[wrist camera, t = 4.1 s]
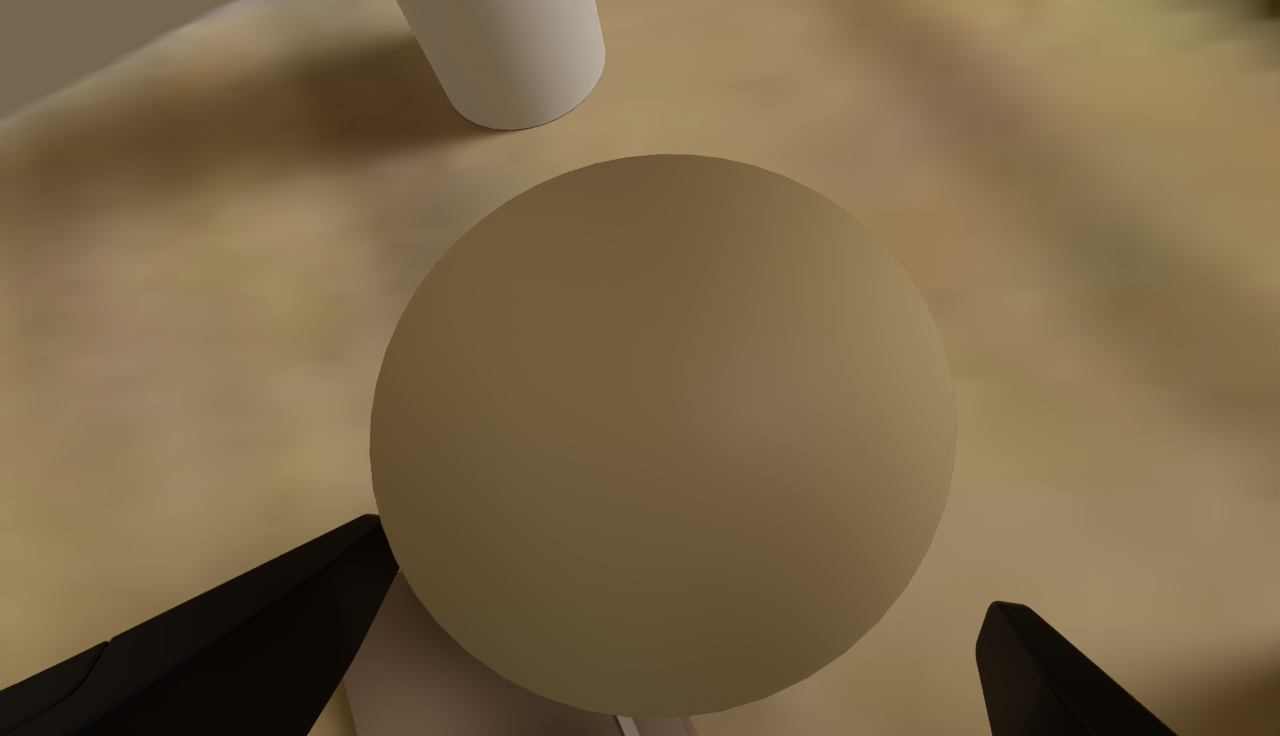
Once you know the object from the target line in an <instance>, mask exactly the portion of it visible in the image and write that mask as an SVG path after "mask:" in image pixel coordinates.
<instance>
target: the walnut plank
mask: <svg viewBox="0 0 1280 736" xmlns="http://www.w3.org/2000/svg"><path fill="white" fill-rule="evenodd" d="M343 681H344V685H345V689H346V693H347V697H348V701H349V704H350V708H351V712H352V716H353V720H354V724H355V728H356V732H357V736H697V734H696V732H695V730H694V727H693V725H692V723H691V721H690V719H689V717H688V716H684V717H677V718H640V717H623V716H617V715H611V714H605V713H599V712H592V711H586V710H582V709H579V708H576V707H573V706H570V705H566V704H563V703H560V702H557V701H554V700H551V699H548V698H545V697H542V696H540V695H538V694H536V693H534V692H532V691H530V690H528V689H526V688H524V687H522V686H520V685H518V684H516V683H514V682H512V681H510V680H508V679H506V678H504V677H502V676H501V675H499V674H498V673H496V672H495V671H493V670H492V669H491V668H489V667H488V666H486V665H485V664H484V663H482V662H481V661H479V660H478V659H476V658H475V657H474V656H472V655H471V654H469V653H468V652H467V651H466V650H465V649H464V648H463V647H462V646H461V645H460V644H459V643H458V642H457V641H456V640H454V639H453V638H452V637H451V636H450V635H449V634H448V633H447V632H446V631H445V630H444V629H443V628H442V627H441V626H440V625H439V624H438V623H437V622H436V620H435V619H434V618H433V616H432V615H431V614H430V613H429V611H428V610H427V609H426V607H425V606H424V605H423V603H422V602H421V601H420V600H419V598H418V597H417V596H416V594H415V593H414V591H413V590H412V588H411V586H410V584H409V583H408V581H407V579H406V577H405V576H404V574H403V572H400V573H398V574H396V576H395V578H394V580H393V582H392V585H391V587H390V589H389V591H388V593H387V595H386V597H385V599H384V601H383V603H382V605H381V607H380V609H379V611H378V613H377V615H376V617H375V619H374V621H373V623H372V625H371V627H370V629H369V631H368V633H367V635H366V637H365V639H364V641H363V643H362V645H361V647H360V649H359V651H358V653H357V654H356V656H355V658H354V660H353V662H352V663H351V665H350V667H349V668H348V670H347V672H346V673H345V675H344V677H343Z"/></svg>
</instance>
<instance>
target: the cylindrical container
mask: <svg viewBox="0 0 1280 736" xmlns="http://www.w3.org/2000/svg"><path fill="white" fill-rule="evenodd" d="M396 1H397V3H398V5H399V7H400V8H401V10H402V12H403V14H404V16H405V18H406V20H407V21H408V23H409V25H410V27H411V29H412V31H413V33H414V35H415V36H416V38H417V40H418V42H419V44H420V46H421V48H422V50H423V51H424V53H425V55H426V57H427V59H428V61H429V63H430V65H431V66H432V68H433V70H434V72H435V74H436V76H437V78H438V80H439V81H440V83H441V85H442V87H443V89H444V91H445V93H446V94H447V96H448V98H449V100H450V102H451V104H452V105H453V106H454V107H455V109H456V110H457V111H458V112H459V113H460V114H461V115H462V116H464V117H465V118H466V119H468V120H470V121H472V122H474V123H476V124H478V125H481V126H484V127H488V128H492V129H502V130H516V129H526V128H531V127H535V126H538V125H542V124H545V123H548V122H550V121H552V120H555V119H557V118H559V117H561V116H563V115H564V114H566V113H568V112H569V111H571V110H573V109H574V108H575V107H576V106H577V105H579V104H580V103H581V102H582V101H583V100H584V99H585V98H586V97H587V96H588V95H589V94H590V92H591V91H592V90H593V89H594V87H595V86H596V84H597V82H598V80H599V79H600V77H601V74H602V71H603V67H604V64H605V47H604V43H603V38H602V33H601V28H600V23H599V18H598V13H597V8H596V3H595V0H396Z"/></svg>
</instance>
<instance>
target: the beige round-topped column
mask: <svg viewBox="0 0 1280 736" xmlns="http://www.w3.org/2000/svg"><path fill="white" fill-rule="evenodd" d="M955 442H956V414H955V401H954V388H953V384H952V379H951V375H950V370H949V366H948V361H947V356H946V352H945V349H944V347H943V344H942V341H941V339H940V336H939V333H938V330H937V328H936V325H935V322H934V320H933V317H932V315H931V313H930V312H929V310H928V308H927V306H926V304H925V302H924V300H923V299H922V297H921V295H920V293H919V291H918V289H917V287H916V286H915V284H914V283H913V281H912V280H911V279H910V277H909V276H908V274H907V273H906V272H905V270H904V269H903V268H902V266H901V265H900V263H899V262H898V261H897V259H896V258H895V256H894V255H893V254H892V253H891V252H890V251H889V250H888V249H887V248H886V247H885V246H884V245H883V244H882V243H881V242H880V241H879V240H878V238H877V237H876V236H875V235H874V234H873V233H872V232H871V231H870V230H869V229H867V228H866V227H865V226H864V225H863V224H861V223H860V222H859V221H858V220H857V219H855V218H854V217H853V216H852V215H850V214H849V213H848V212H847V211H846V210H844V209H843V208H841V207H840V206H838V205H837V204H835V203H833V202H832V201H830V200H829V199H827V198H826V197H824V196H823V195H821V194H819V193H818V192H816V191H814V190H812V189H810V188H808V187H806V186H804V185H802V184H800V183H798V182H796V181H794V180H792V179H790V178H788V177H785V176H782V175H780V174H777V173H774V172H771V171H768V170H765V169H762V168H760V167H757V166H753V165H749V164H745V163H740V162H736V161H732V160H727V159H723V158H715V157H706V156H698V155H672V154H657V155H647V156H636V157H626V158H621V159H616V160H611V161H606V162H601V163H596V164H593V165H590V166H586V167H583V168H580V169H577V170H573V171H570V172H567V173H564V174H562V175H559V176H557V177H555V178H552V179H550V180H548V181H545V182H543V183H541V184H538V185H536V186H534V187H532V188H531V189H529V190H527V191H525V192H523V193H522V194H520V195H518V196H516V197H514V198H513V199H511V200H509V201H507V202H506V203H505V204H503V205H502V206H500V207H499V208H497V209H496V210H495V211H493V212H492V213H490V214H489V215H487V216H486V217H485V218H483V219H482V220H481V221H479V222H478V223H477V224H476V225H475V226H474V227H473V228H471V229H470V230H469V231H468V232H467V233H466V234H465V235H463V236H462V237H461V238H460V239H459V240H458V241H457V242H456V243H455V244H454V245H453V246H452V247H451V248H450V249H449V250H448V251H447V253H446V254H445V255H444V256H443V257H442V258H441V259H440V260H439V261H438V262H437V263H436V264H435V266H434V267H433V268H432V270H431V271H430V273H429V274H428V275H427V277H426V278H425V279H424V281H423V282H422V283H421V285H420V286H419V287H418V289H417V290H416V292H415V293H414V295H413V297H412V299H411V300H410V302H409V304H408V306H407V307H406V309H405V311H404V313H403V314H402V316H401V318H400V319H399V322H398V324H397V326H396V329H395V331H394V333H393V336H392V338H391V340H390V343H389V345H388V347H387V350H386V353H385V356H384V359H383V363H382V366H381V370H380V373H379V376H378V380H377V383H376V389H375V395H374V402H373V408H372V414H371V429H370V461H371V471H372V482H373V490H374V494H375V498H376V503H377V507H378V511H379V515H380V519H381V524H382V526H383V529H384V532H385V534H386V537H387V539H388V542H389V544H390V547H391V549H392V552H393V555H394V557H395V560H396V561H397V563H398V565H399V567H400V568H401V570H402V572H403V574H404V576H405V577H406V579H407V581H408V583H409V584H410V586H411V588H412V590H413V591H414V593H415V594H416V596H417V597H418V598H419V600H420V601H421V602H422V603H423V605H424V606H425V607H426V609H427V610H428V611H429V613H430V614H431V615H432V616H433V618H434V619H435V620H436V622H437V623H438V624H439V625H440V626H441V627H442V628H443V629H444V630H445V631H446V632H447V633H448V634H449V635H450V636H451V637H452V638H453V639H454V640H456V641H457V642H458V643H459V644H460V645H461V646H462V647H463V648H464V649H465V650H466V651H467V652H468V653H469V654H471V655H472V656H474V657H475V658H476V659H478V660H479V661H481V662H482V663H484V664H485V665H486V666H488V667H489V668H491V669H492V670H493V671H495V672H496V673H498V674H499V675H501V676H502V677H504V678H506V679H508V680H510V681H512V682H514V683H516V684H518V685H520V686H522V687H524V688H526V689H528V690H530V691H532V692H534V693H536V694H538V695H540V696H542V697H545V698H548V699H551V700H554V701H557V702H560V703H563V704H566V705H570V706H573V707H576V708H579V709H582V710H586V711H592V712H599V713H605V714H611V715H617V716H623V717H640V718H677V717H684V716H691V715H698V714H705V713H712V712H719V711H723V710H727V709H730V708H733V707H737V706H740V705H743V704H747V703H750V702H753V701H757V700H760V699H763V698H766V697H768V696H770V695H772V694H774V693H777V692H779V691H781V690H783V689H785V688H787V687H789V686H791V685H793V684H796V683H798V682H800V681H802V680H804V679H806V678H808V677H809V676H811V675H812V674H814V673H815V672H817V671H818V670H820V669H821V668H823V667H824V666H826V665H827V664H829V663H830V662H832V661H833V660H835V659H836V658H838V657H839V656H841V655H842V654H844V653H845V652H846V651H847V650H848V649H849V648H851V647H852V646H853V645H854V644H855V643H856V642H857V641H858V640H859V639H860V638H861V637H862V636H864V635H865V634H866V633H867V632H868V631H869V630H870V629H871V628H872V627H873V626H874V625H876V624H877V623H878V622H879V621H880V619H881V618H882V617H883V616H884V614H885V613H886V612H887V611H888V609H889V608H890V607H891V606H892V604H893V603H894V602H895V601H896V599H897V598H898V597H899V596H900V594H901V593H902V592H903V591H904V589H905V588H906V587H907V585H908V584H909V582H910V580H911V579H912V577H913V575H914V573H915V572H916V570H917V568H918V566H919V565H920V563H921V561H922V559H923V558H924V556H925V554H926V553H927V551H928V549H929V547H930V544H931V542H932V539H933V537H934V534H935V531H936V529H937V526H938V524H939V521H940V519H941V516H942V514H943V511H944V508H945V504H946V499H947V495H948V491H949V486H950V482H951V477H952V473H953V468H954V455H955Z"/></svg>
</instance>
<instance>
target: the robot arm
mask: <svg viewBox="0 0 1280 736" xmlns="http://www.w3.org/2000/svg"><path fill="white" fill-rule="evenodd" d="M398 570H399V565H398V563H397V561H396V560H395V557H394V555H393V552H392V549H391V547H390V544H389V542H388V539H387V537H386V534H385V532H384V529H383V526H382V524H381V519H380V515H376V514H365V515H362V516H360V517H358V518H356V519H354V520H352V521H350V522H348V523H346V524H344V525H342V526H340V527H338V528H336V529H334V530H332V531H329V532H327V533H325V534H323V535H321V536H319V537H317V538H315V539H313V540H311V541H309V542H307V543H305V544H303V545H301V546H299V547H297V548H295V549H293V550H291V551H289V552H287V553H284V554H282V555H280V556H278V557H276V558H274V559H272V560H270V561H268V562H266V563H264V564H262V565H260V566H258V567H256V568H254V569H252V570H250V571H248V572H246V573H244V574H241V575H239V576H237V577H235V578H233V579H231V580H229V581H227V582H225V583H223V584H221V585H219V586H217V587H215V588H213V589H211V590H209V591H207V592H205V593H203V594H201V595H198V596H196V597H194V598H192V599H190V600H188V601H186V602H184V603H182V604H180V605H178V606H176V607H174V608H172V609H170V610H168V611H166V612H164V613H162V614H160V615H158V616H155V617H153V618H151V619H149V620H147V621H145V622H143V623H141V624H139V625H137V626H135V627H133V628H131V629H129V630H127V631H125V632H123V633H121V634H119V635H117V636H115V637H113V638H112V639H111V640H110V642H108V641H104V642H102V643H100V644H98V645H96V646H94V647H92V648H90V649H88V650H86V651H84V652H82V653H80V654H78V655H76V656H74V657H72V658H69V659H67V660H65V661H63V662H61V663H59V664H57V665H55V666H53V667H50V668H48V669H46V670H44V671H42V672H40V673H38V674H36V675H34V676H31V677H29V678H27V679H25V680H23V681H21V682H19V683H16V684H14V685H12V686H10V687H7V688H5V689H3V690H1V691H0V736H307V735H308V733H309V732H310V730H311V728H312V727H313V725H314V723H315V722H316V720H317V719H318V717H319V715H320V714H321V712H322V711H323V709H324V707H325V706H326V704H327V702H328V701H329V699H330V698H331V696H332V694H333V693H334V691H335V690H336V688H337V686H338V685H339V683H340V682H341V680H342V678H343V677H344V675H345V673H346V672H347V670H348V668H349V667H350V665H351V663H352V662H353V660H354V658H355V656H356V654H357V653H358V651H359V649H360V647H361V645H362V643H363V641H364V639H365V637H366V635H367V633H368V631H369V629H370V627H371V625H372V623H373V621H374V619H375V617H376V615H377V613H378V611H379V609H380V607H381V605H382V603H383V601H384V599H385V597H386V595H387V593H388V591H389V589H390V587H391V585H392V582H393V580H394V578H395V576H396V574H397V572H398ZM976 662H977V666H978V671H979V676H980V680H981V685H982V690H983V694H984V699H985V704H986V708H987V713H988V718H989V722H990V727H991V731H992V736H1178V735H1177V734H1176V733H1175V732H1173V731H1172V730H1171V729H1170V728H1169V727H1168V726H1166V725H1165V724H1164V723H1163V722H1162V721H1161V720H1159V719H1158V718H1157V717H1156V716H1155V715H1154V714H1153V713H1151V712H1150V711H1149V710H1148V709H1147V708H1146V707H1144V706H1143V705H1142V704H1141V703H1140V702H1139V701H1137V700H1136V699H1135V698H1134V697H1133V696H1132V695H1131V694H1129V693H1128V692H1127V691H1126V690H1125V689H1124V688H1122V687H1121V686H1120V685H1119V684H1118V683H1117V682H1115V681H1114V680H1113V679H1112V678H1111V677H1110V676H1109V675H1107V674H1106V673H1105V672H1104V671H1103V670H1102V669H1100V668H1099V667H1098V666H1097V665H1096V664H1095V663H1093V662H1092V661H1091V660H1090V659H1089V658H1088V657H1087V656H1085V655H1084V654H1083V653H1082V652H1081V651H1080V650H1078V649H1077V648H1076V647H1075V646H1074V645H1073V644H1071V643H1070V642H1069V641H1068V640H1067V639H1066V638H1065V637H1063V636H1062V635H1061V634H1060V633H1059V632H1058V631H1056V630H1055V629H1054V628H1053V627H1052V626H1051V625H1049V624H1048V623H1047V622H1046V621H1045V620H1044V619H1042V618H1041V617H1040V616H1039V615H1038V614H1037V613H1036V612H1034V611H1033V610H1032V609H1031V608H1029V607H1028V606H1026V605H1023V604H1018V603H1011V602H1003V601H994V602H992V603H991V604H990V606H989V608H988V610H987V613H986V616H985V619H984V622H983V624H982V627H981V630H980V633H979V636H978V639H977V642H976Z"/></svg>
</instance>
